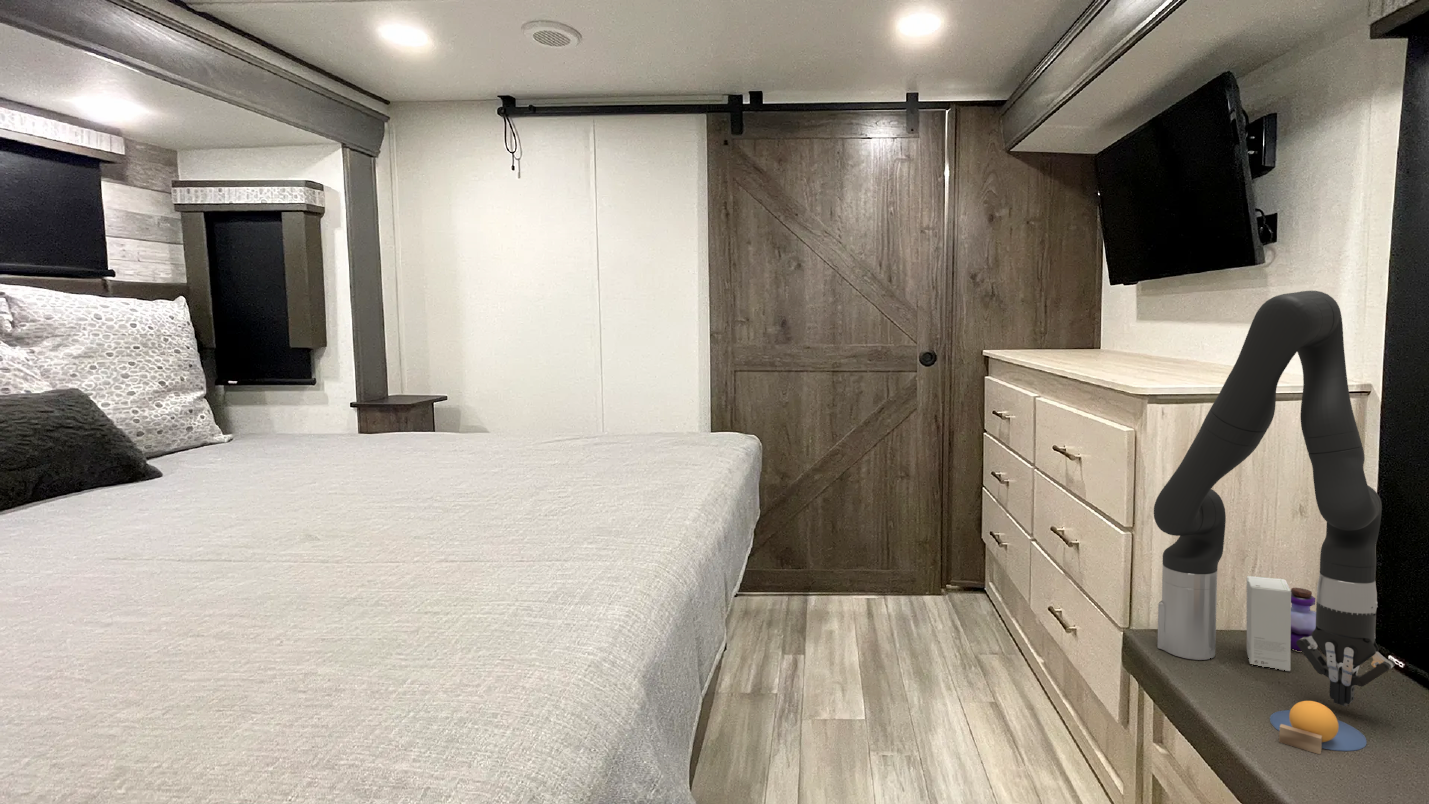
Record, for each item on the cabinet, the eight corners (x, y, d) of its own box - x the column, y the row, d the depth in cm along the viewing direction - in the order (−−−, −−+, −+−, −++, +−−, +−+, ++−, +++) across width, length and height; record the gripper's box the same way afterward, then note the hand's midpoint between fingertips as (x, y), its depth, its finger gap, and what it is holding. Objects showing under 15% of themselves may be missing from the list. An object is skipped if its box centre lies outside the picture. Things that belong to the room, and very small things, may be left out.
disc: (1262, 731, 119) (1262, 729, 119) (1278, 703, 127) (1278, 702, 127) (1361, 760, 110) (1361, 759, 110) (1371, 729, 118) (1371, 728, 118)
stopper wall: (1279, 742, 115) (1279, 726, 115) (1280, 739, 116) (1281, 723, 116) (1320, 754, 112) (1320, 738, 111) (1321, 751, 112) (1322, 735, 112)
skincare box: (1290, 672, 138) (1293, 591, 136) (1247, 665, 141) (1249, 586, 140) (1285, 655, 145) (1287, 578, 143) (1243, 649, 148) (1245, 573, 147)
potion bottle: (1261, 640, 152) (1263, 583, 151) (1299, 637, 153) (1301, 580, 152) (1298, 658, 143) (1300, 598, 142) (1339, 654, 144) (1341, 595, 143)
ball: (1282, 709, 115) (1298, 686, 118) (1282, 737, 118) (1298, 714, 120) (1329, 729, 111) (1345, 704, 113) (1328, 757, 113) (1344, 733, 115)
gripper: (1288, 596, 125) (1284, 694, 127) (1389, 620, 114) (1384, 727, 116) (1307, 587, 129) (1303, 682, 131) (1406, 610, 118) (1401, 713, 120)
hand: (1341, 703), depth 123 cm, fingers closed
